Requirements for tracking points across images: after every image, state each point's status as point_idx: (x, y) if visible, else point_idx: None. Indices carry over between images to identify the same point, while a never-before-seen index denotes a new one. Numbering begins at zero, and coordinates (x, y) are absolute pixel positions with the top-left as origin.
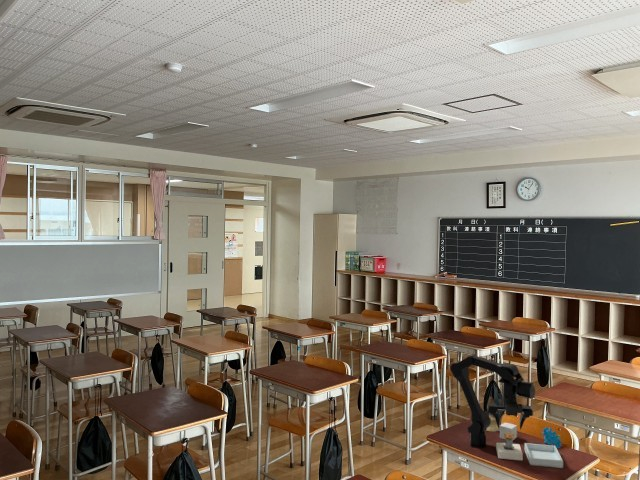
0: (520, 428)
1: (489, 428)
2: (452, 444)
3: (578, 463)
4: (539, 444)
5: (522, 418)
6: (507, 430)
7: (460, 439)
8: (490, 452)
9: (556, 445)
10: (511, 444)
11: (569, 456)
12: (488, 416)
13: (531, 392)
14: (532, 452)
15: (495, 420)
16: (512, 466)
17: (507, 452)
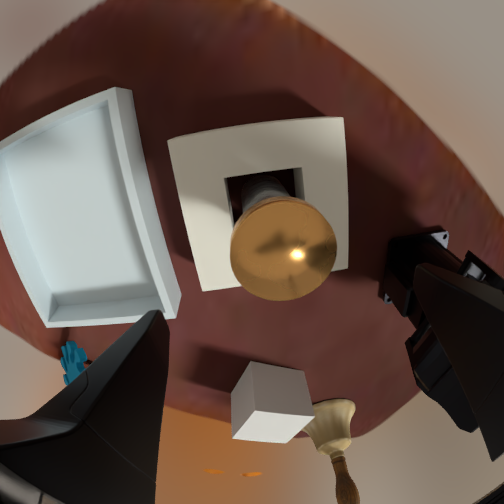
0: (150, 316)
1: (337, 408)
2: (494, 227)
3: None
4: (102, 323)
5: (59, 429)
6: (275, 401)
7: None
8: (368, 188)
9: (67, 354)
10: (253, 201)
11: (14, 286)
12: (449, 402)
13: None
14: (132, 261)
15: (318, 443)
16: (238, 26)
17: (278, 122)
